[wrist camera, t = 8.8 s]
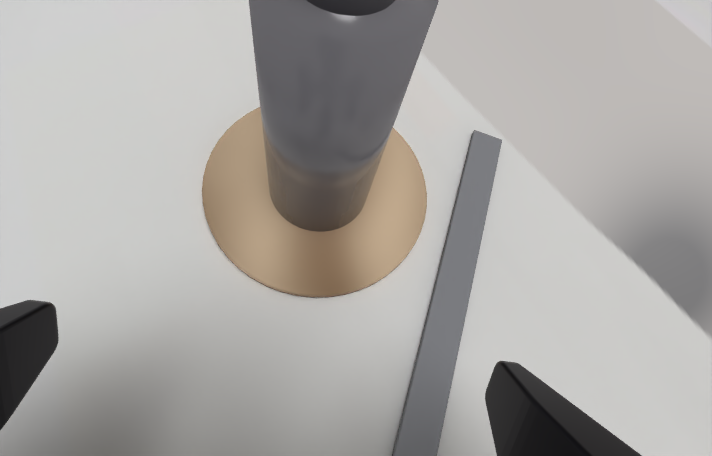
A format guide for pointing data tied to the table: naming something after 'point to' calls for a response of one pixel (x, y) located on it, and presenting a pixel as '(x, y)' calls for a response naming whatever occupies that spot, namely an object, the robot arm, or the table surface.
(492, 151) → the felt line
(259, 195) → the cork coaster
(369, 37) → the grey stepped cylinder
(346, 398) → the table surface
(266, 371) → the table surface
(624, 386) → the table surface
